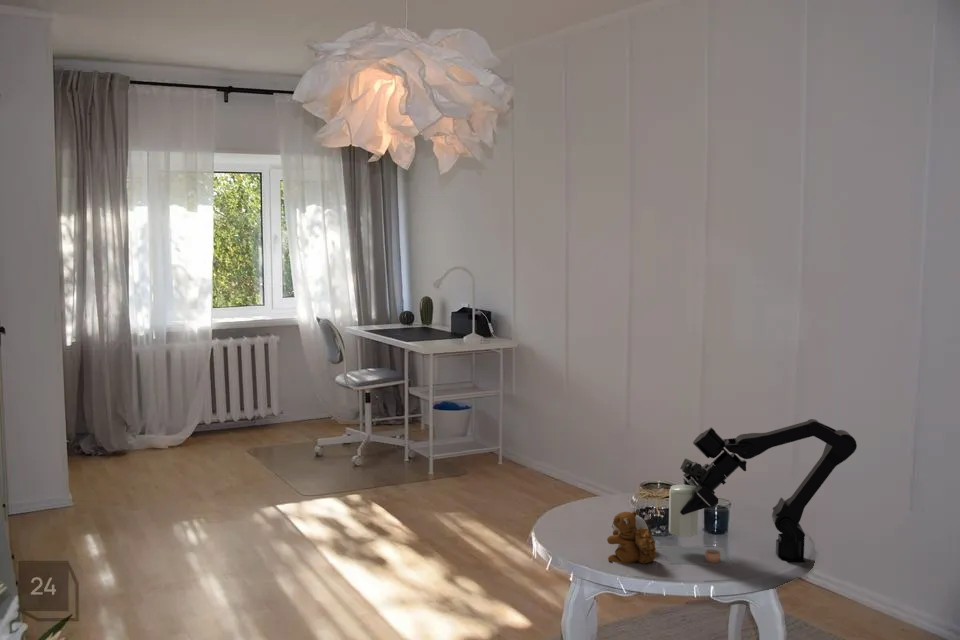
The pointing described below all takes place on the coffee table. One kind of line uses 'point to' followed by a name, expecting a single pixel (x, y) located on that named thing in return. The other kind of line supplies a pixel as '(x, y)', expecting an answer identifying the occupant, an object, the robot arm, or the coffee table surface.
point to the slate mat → (693, 555)
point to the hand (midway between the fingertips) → (678, 509)
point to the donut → (638, 523)
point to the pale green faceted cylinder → (677, 521)
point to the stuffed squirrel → (631, 541)
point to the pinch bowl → (712, 556)
